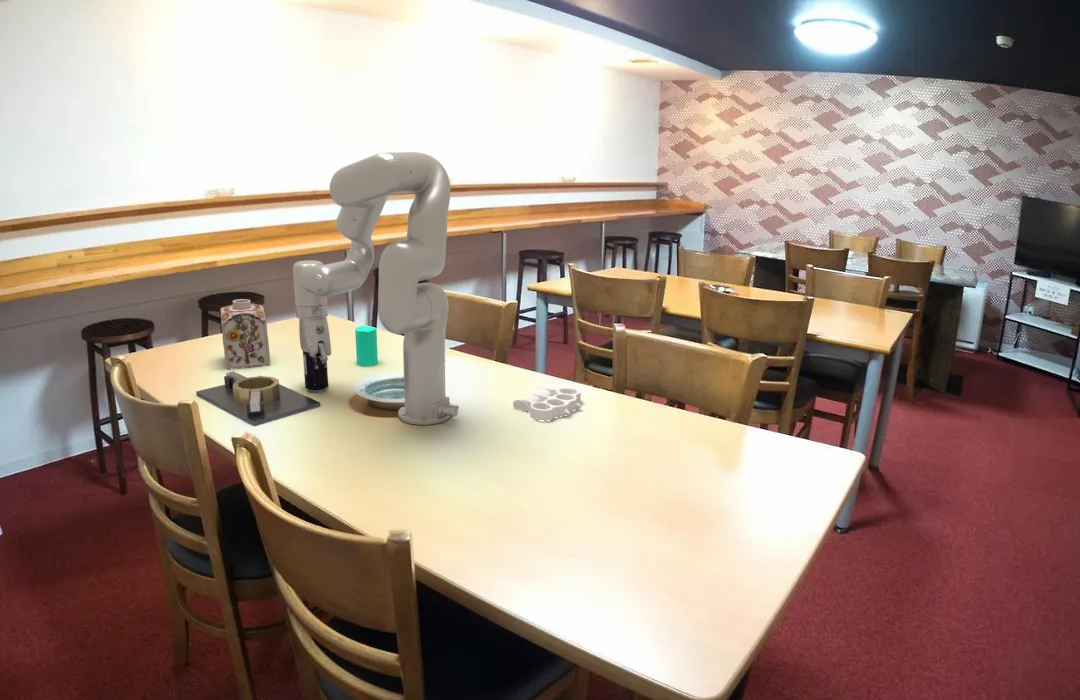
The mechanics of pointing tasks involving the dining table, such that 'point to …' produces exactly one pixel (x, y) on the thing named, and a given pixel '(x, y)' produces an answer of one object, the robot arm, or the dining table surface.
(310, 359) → the beverage can
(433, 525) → the dining table surface
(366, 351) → the candle
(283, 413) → the grey plate with collar
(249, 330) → the decorative jar
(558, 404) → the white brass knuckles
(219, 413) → the dining table surface
